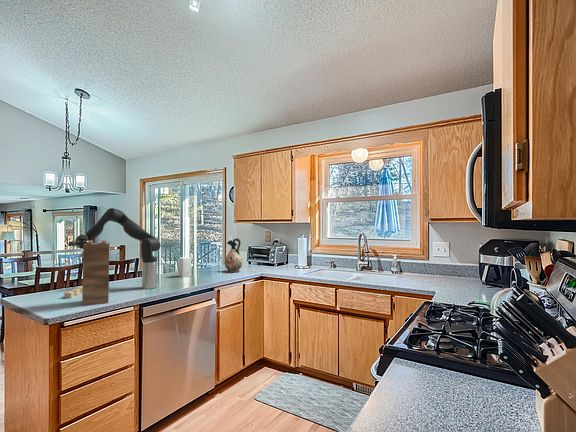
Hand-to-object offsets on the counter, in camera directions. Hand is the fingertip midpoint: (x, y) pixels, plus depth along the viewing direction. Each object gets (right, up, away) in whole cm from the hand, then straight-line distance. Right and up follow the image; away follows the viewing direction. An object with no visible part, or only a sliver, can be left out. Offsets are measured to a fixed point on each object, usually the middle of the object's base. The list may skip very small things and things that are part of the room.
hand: (80, 244), depth 210 cm
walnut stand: (+28, -29, -31) cm, 51 cm away
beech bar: (+6, -30, -11) cm, 32 cm away
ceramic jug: (+86, -32, +79) cm, 121 cm away
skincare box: (+51, -31, +53) cm, 80 cm away
